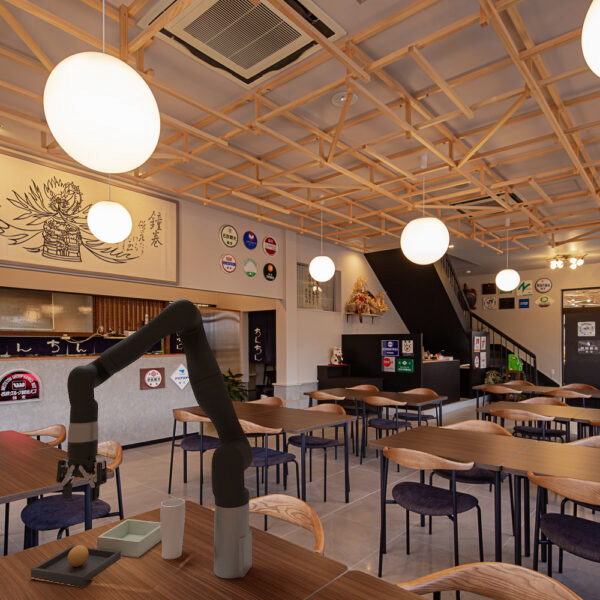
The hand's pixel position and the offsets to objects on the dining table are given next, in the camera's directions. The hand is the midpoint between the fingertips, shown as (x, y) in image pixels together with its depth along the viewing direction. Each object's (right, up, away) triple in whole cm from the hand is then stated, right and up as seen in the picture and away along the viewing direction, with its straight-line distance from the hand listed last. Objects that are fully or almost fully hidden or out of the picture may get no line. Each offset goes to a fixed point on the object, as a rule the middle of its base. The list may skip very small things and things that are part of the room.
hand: (80, 499), depth 118 cm
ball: (0, -17, -2) cm, 17 cm away
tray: (0, -18, -2) cm, 18 cm away
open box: (+10, -19, +11) cm, 24 cm away
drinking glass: (+23, -18, +4) cm, 30 cm away
